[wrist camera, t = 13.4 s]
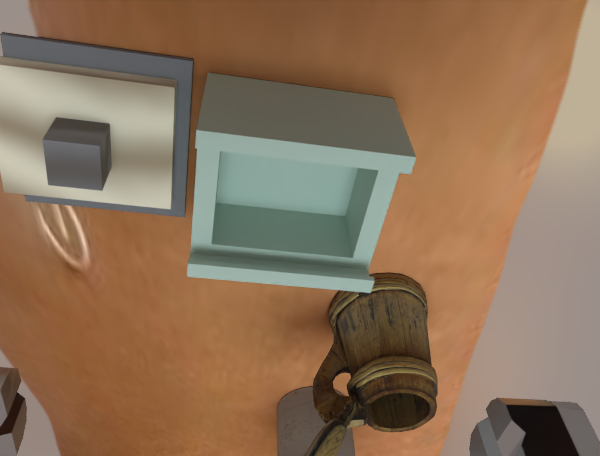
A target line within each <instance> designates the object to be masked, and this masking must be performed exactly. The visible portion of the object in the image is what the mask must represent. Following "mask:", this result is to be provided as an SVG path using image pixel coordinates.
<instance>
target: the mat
mask: <svg viewBox="0 0 600 456" xmlns="http://www.w3.org/2000/svg"><path fill="white" fill-rule="evenodd" d="M0 36H1V43H2V48H3V55H4V57H8V58H16V59H23V60H31V61H38V62H46V63H53V64H61V65H68V66H76V67H83V68H91V69H98V70H106V71H113V72H121V73H128V74H136V75H143V76H151V77H158V78H166V79H173V80H177V94H176V123H175V152H174V181H173V202H172V206H171V209H162V208H152V207H142V206H133V205H123V204H113V203H103V202H94V201H84V200H74V199H64V198H55V197H45V196H35V195H26V194H25V198H26V201H32V202H42V203H51V204H61V205H71V206H80V207H90V208H100V209H110V210H119V211H129V212H139V213H148V214H158V215H168V216H177V217H185V204H186V186H187V168H188V149H189V131H190V113H191V94H192V76H193V59H190V58H183V57H175V56H168V55H161V54H154V53H147V52H140V51H133V50H126V49H119V48H112V47H105V46H97V45H90V44H83V43H76V42H69V41H62V40H55V39H48V38H41V37H34V36H27V35H19V34H12V33H5V32H2V33H1V34H0Z"/></svg>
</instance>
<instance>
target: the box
mask: <svg viewBox="0 0 600 456" xmlns="http://www.w3.org/2000/svg"><path fill="white" fill-rule="evenodd" d="M195 148H196V149H197V161H196V176H195V191H194V207H193V222H192V237H191V253H190V259H189V260H188V271H187V277H198V278H209V279H220V280H231V281H242V282H254V283H265V284H276V285H287V286H298V287H310V288H321V289H332V290H343V291H354V292H366V293H371V290H372V287H373V284H374V281H375V280H374V277H369V272H368V269H369V266H370V262H371V259H372V256H373V253H374V250H375V247H376V244H377V241H378V238H379V235H380V231H381V228H382V225H383V222H384V219H385V216H386V213H387V210H388V207H389V204H390V201H391V197H392V194H393V191H394V188H395V185H396V182H397V179H398V176H399V173H405V174H411V172H412V169H413V166H414V163H415V160H416V155H415V153H414V150H413V147H412V145H411V142H410V140H409V137H408V135H407V132H406V130H405V127H404V124H403V122H402V119H401V117H400V114H399V112H398V109H397V106H396V104H395V101H394V99H393V98H389V97H381V96H374V95H367V94H360V93H352V92H345V91H338V90H331V89H324V88H316V87H309V86H302V85H295V84H287V83H280V82H273V81H266V80H258V79H251V78H244V77H237V76H230V75H222V74H215V73H208V74H207V79H206V84H205V89H204V94H203V99H202V104H201V109H200V114H199V119H198V124H197V129H196V143H195Z"/></svg>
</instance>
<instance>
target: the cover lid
mask: <svg viewBox="0 0 600 456" xmlns="http://www.w3.org/2000/svg"><path fill="white" fill-rule="evenodd" d="M176 94H177V80H173V79H166V78H158V77H151V76H143V75H136V74H128V73H121V72H113V71H106V70H98V69H91V68H83V67H76V66H68V65H61V64H53V63H46V62H38V61H31V60H23V59H16V58H8V57H0V171H1V177H2V182H3V188H4V192H6V193H16V194H26V195H35V196H45V197H55V198H64V199H74V200H84V201H94V202H103V203H113V204H123V205H133V206H142V207H152V208H162V209H171V206H172V202H173V181H174V152H175V123H176Z"/></svg>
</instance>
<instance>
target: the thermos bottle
mask: <svg viewBox="0 0 600 456" xmlns="http://www.w3.org/2000/svg"><path fill="white" fill-rule="evenodd" d="M312 389H313V387H306V388H301V389H297V390H295V391H292V392H290V393H289V394H287V395H286V396H284V397H283V398H282V399H281V401H280V402H279V404H278V407H277V448H278V456H304V455H305V453H306V452H307V450H308V448H309V447H310V445H311V444H312V442H313V440H314V439H315V437H316V436H317V435H318V433H319V432H320V431H321V429H322V428H323V427H324V426H325V425H326V424H325V423H324V422H323V420H322V419H321V417H320V416H319V414H318V412H317V410H316V408H315V406H314V402H313V396H312ZM335 391H336V390H335ZM336 393H338V394H339V395H342V394H341V393H340V392H338V391H336ZM342 396H344V395H342ZM337 456H355V448H354V440H353V433H352V427H351V428H348V429H347V431H346V433H345V436H344V438H343V441H342V444H341V447H340V449H339V452H338V454H337Z"/></svg>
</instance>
